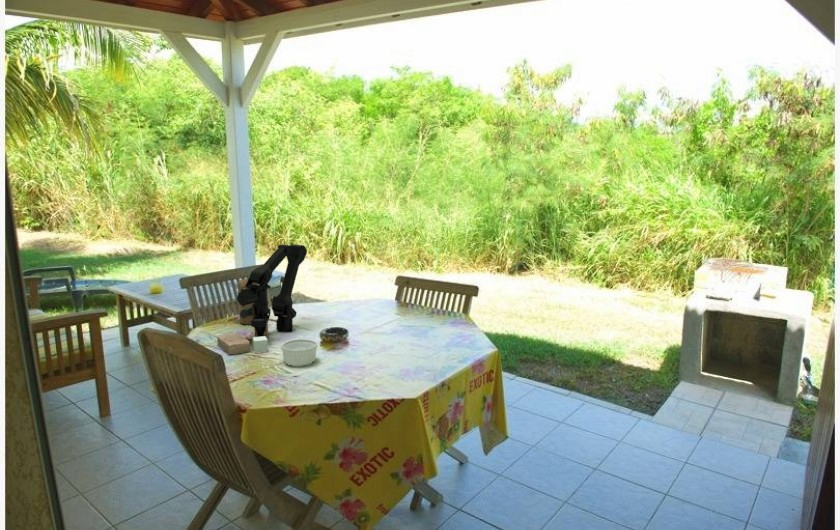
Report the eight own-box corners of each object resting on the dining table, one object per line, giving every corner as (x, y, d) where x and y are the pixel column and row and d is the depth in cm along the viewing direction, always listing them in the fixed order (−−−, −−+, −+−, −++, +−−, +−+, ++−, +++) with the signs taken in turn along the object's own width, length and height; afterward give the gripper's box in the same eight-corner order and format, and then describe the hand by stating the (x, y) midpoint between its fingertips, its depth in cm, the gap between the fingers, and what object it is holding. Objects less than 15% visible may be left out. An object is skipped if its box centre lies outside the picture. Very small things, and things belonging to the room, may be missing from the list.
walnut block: (268, 337, 240) (267, 323, 239) (267, 341, 235) (266, 327, 234) (256, 337, 239) (255, 324, 238) (254, 341, 234) (254, 327, 233)
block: (257, 324, 258) (256, 281, 254) (240, 325, 254) (239, 283, 251) (254, 317, 267) (253, 277, 263) (238, 319, 264) (236, 278, 260)
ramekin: (286, 370, 204) (286, 352, 203) (278, 358, 216) (277, 341, 214) (321, 364, 210) (321, 347, 209) (311, 353, 222) (311, 336, 220)
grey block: (265, 347, 227) (265, 336, 226) (267, 351, 223) (267, 339, 222) (253, 349, 225) (252, 337, 224) (254, 353, 221) (254, 341, 220)
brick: (216, 344, 230) (216, 333, 229) (236, 341, 235) (236, 330, 234) (229, 356, 217) (229, 345, 216) (251, 352, 222) (250, 341, 221)
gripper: (243, 295, 242) (244, 329, 245) (237, 306, 224) (238, 343, 227) (270, 294, 243) (271, 329, 246) (265, 306, 225) (266, 343, 228)
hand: (261, 336), depth 237 cm, fingers open, 9 cm apart
